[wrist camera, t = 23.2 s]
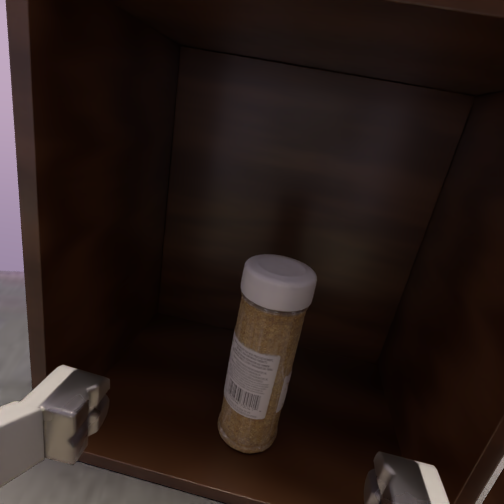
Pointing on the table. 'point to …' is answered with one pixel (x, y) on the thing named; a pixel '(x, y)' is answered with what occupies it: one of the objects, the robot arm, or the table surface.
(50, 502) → the table surface
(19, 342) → the table surface
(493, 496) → the cupboard door
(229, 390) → the sprinkles bottle
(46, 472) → the table surface
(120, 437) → the cupboard
